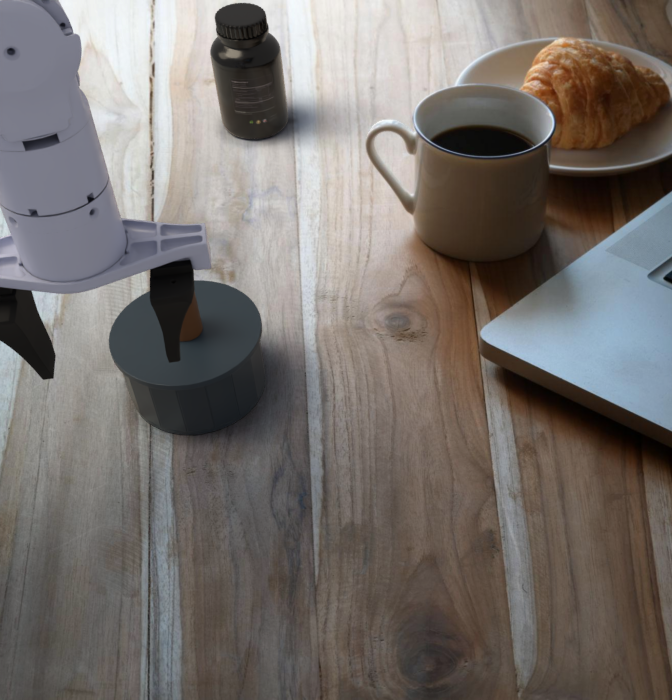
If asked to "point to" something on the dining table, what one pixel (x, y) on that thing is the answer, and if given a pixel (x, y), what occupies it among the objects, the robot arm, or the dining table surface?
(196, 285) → the lid
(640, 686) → the dining table surface
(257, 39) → the supplement bottle
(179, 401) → the pot
